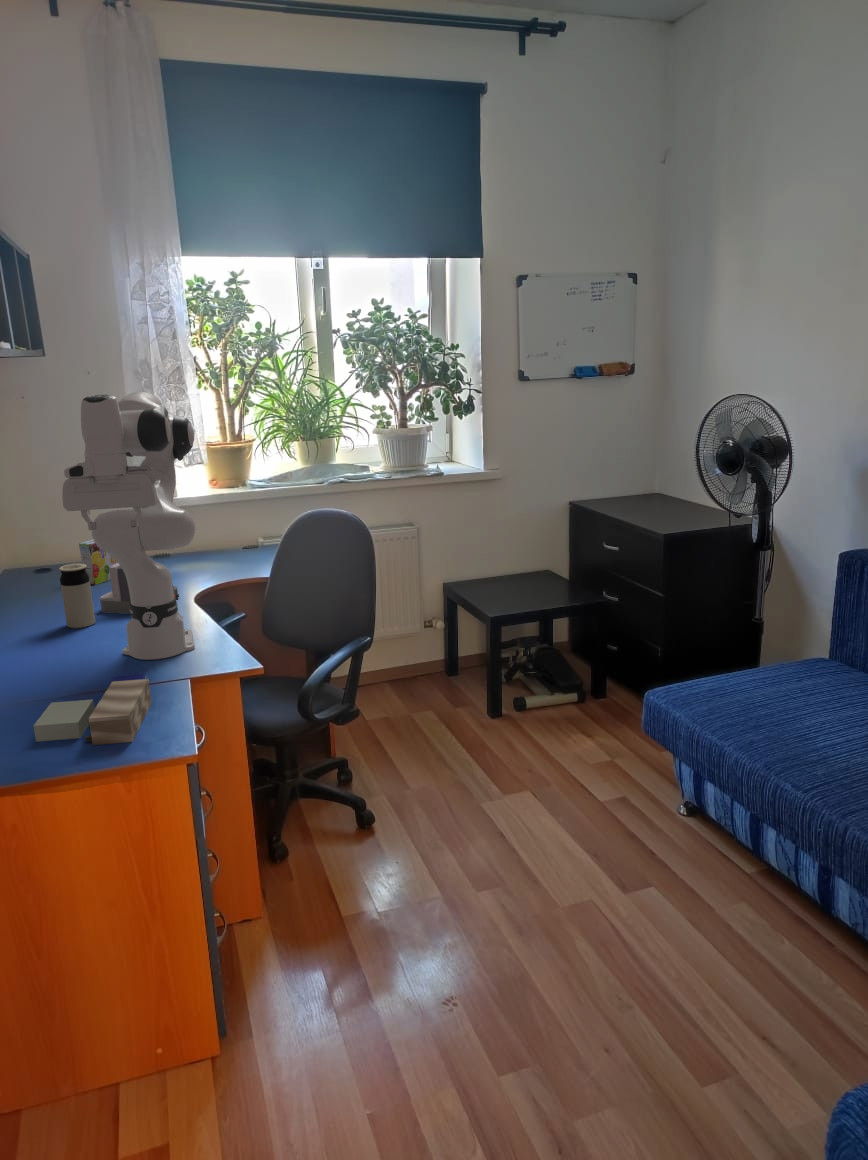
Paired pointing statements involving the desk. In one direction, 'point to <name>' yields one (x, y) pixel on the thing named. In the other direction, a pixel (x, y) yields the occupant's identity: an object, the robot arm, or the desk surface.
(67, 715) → the case
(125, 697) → the low shelf
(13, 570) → the desk surface
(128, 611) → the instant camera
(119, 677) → the hard drive
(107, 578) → the snack box
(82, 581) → the travel mug
